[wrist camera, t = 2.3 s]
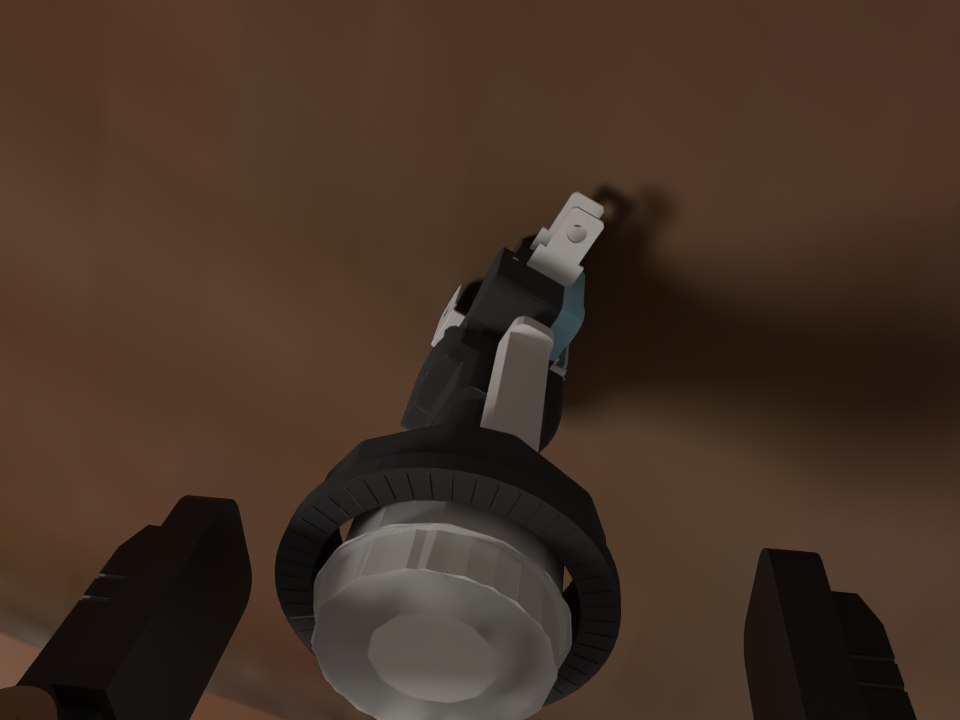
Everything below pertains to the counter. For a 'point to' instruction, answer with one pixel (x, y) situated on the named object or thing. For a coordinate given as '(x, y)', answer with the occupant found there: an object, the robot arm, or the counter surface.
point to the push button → (465, 517)
